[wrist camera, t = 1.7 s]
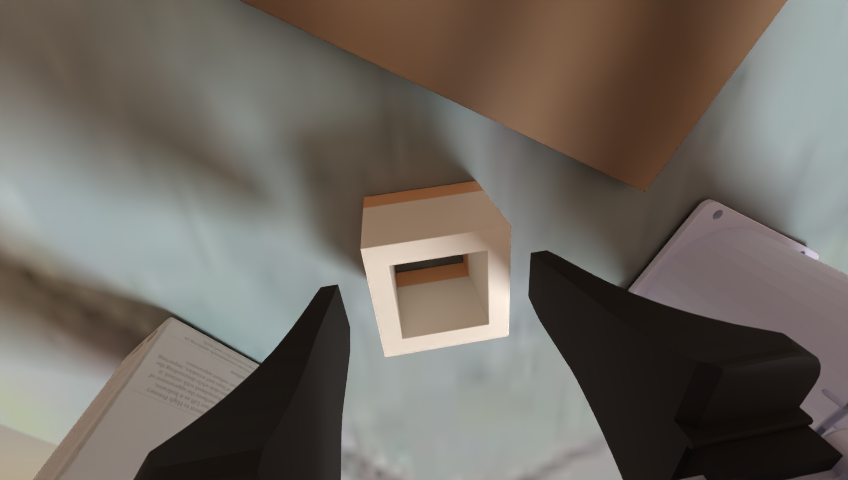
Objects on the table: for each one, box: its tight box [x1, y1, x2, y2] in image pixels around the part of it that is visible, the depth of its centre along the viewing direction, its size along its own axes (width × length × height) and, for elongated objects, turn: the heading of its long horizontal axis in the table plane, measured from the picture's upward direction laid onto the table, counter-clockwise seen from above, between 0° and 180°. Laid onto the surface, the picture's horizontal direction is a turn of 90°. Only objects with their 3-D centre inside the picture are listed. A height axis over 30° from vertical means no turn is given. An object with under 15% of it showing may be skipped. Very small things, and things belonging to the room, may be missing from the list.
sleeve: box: [360, 181, 511, 357], centre depth 15 cm, size 5×5×4 cm
